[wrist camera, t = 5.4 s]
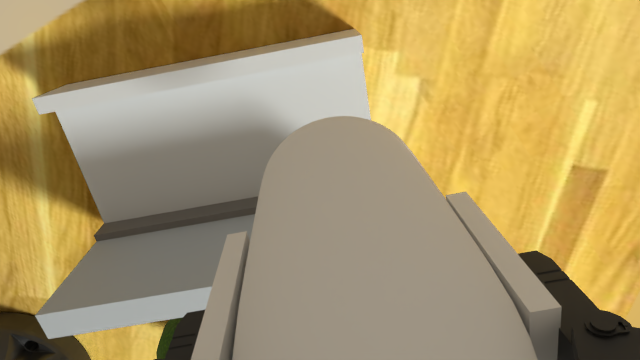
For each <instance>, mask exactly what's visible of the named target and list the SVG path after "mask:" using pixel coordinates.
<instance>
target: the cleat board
mask: <svg viewBox="0 0 640 360" xmlns="http://www.w3.org/2000/svg"><path fill="white" fill-rule="evenodd" d="M361 53H364V50H363V43H362V35H361V34H360V33H359V32H358V31H357V30H356V29H350V30H345V31H340V32H335V33H330V34H324V35H319V36H314V37H309V38H304V39H299V40H293V41H288V42H283V43H278V44H273V45H268V46H263V47H257V48H252V49H247V50H242V51H237V52H232V53H226V54H221V55H216V56H211V57H206V58H201V59H196V60H190V61H185V62H180V63H175V64H170V65H165V66H159V67H154V68H149V69H144V70H139V71H134V72H128V73H123V74H118V75H113V76H108V77H103V78H98V79H92V80H87V81H82V82H77V83H72V84H67V85H64V86H62V87H59V88H57V89H54V90H52V91H49V92H47V93H45V94H42V95H40V96H37V97H35V98H32V100H33V102H34V104H35V107H36V109H37V111H38V113H39V115H40V114H45V113H50V112H56V114H57V117H58V119H59V121H60V123H61V126H62V128H63V130H64V133H65V135H66V137H67V139H68V142H69V144H70V146H71V149H72V151H73V153H74V155H75V158H76V160H77V162H78V164H79V167H80V169H81V171H82V174H83V176H84V178H85V180H86V183H87V185H88V187H89V190H90V192H91V194H92V196H93V199H94V201H95V203H96V206H97V208H98V210H99V212H100V215H101V217H102V219H103V222H104V224H103V226H102V227H101V228H100V229H99V230H98V231H97V232H96V234H95V235H94V237H95V239H96V241H97V242H96V243H95V244H94V245H93V247H92V248H91V249H90V250H89V251H88V253H87V254H86V255H85V256H84V257H83V259H82V260H81V261H80V262H79V263H78V265H77V266H76V267H75V268H74V270H73V271H72V272H71V273H70V274H69V276H68V277H67V278H66V279H65V280H64V282H63V283H62V284H61V285H60V286H59V288H58V289H57V290H56V291H55V292H54V294H53V295H52V296H51V297H50V298H49V300H48V301H47V302H46V303H45V304H44V306H43V307H42V308H41V309H40V310H39V312H38V313H37V314H36V315H35V317H36V318H37V320H38V322H39V324H40V325H41V327H42V329H43V331H44V332H45V334H46V336H47V338H48V339H53V338H59V337H65V336H71V335H77V334H83V333H89V332H96V331H102V330H108V329H114V328H120V327H126V326H132V325H139V324H145V323H151V322H157V321H163V320H169V319H175V318H182V317H184V316H185V315H186V313H188V312H194V311H200V310H205V309H206V306H207V302H208V299H209V296H210V292H211V289H212V285H213V282H214V278H215V275H216V272H217V268H218V265H219V261H220V258H221V254H222V251H223V248H224V244H225V241H226V237H227V235H228V234H234V233H239V232H245V231H247V234H248V237H249V241H250V239H251V234H252V228H253V223H254V218H255V212H256V207H257V202H258V197H259V192H260V187H261V183H262V179H263V175H264V172H265V169H266V166H267V164H268V162H269V160H270V158H271V156H272V154H273V153H274V151H275V150H276V149H277V147H278V146H279V145H280V144H281V143H282V142H283V141H284V140H285V139H286V138H287V137H288V136H289V135H290V134H292V133H293V132H294V131H296V130H297V129H299V128H301V127H303V126H304V125H307V124H309V123H311V122H314V121H317V120H320V119H324V118H328V117H335V116H353V117H360V118H364V119H368V120H371V118H370V111H369V104H368V97H367V89H366V82H365V75H364V68H363V61H362V54H361Z"/></svg>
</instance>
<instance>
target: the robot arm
mask: <svg viewBox="0 0 640 360" xmlns="http://www.w3.org/2000/svg"><path fill="white" fill-rule="evenodd" d="M446 201H447V202H448V203H449V205H450V206H451V208H452V209H453V211H454V212H455V214H456V215H457V217H458V218H459V219H460V221H461V222H462V224H463V225H464V227H465V228H466V230H467V231H468V233H469V234H470V236H471V237H472V238H473V240H474V241H475V243H476V244H477V246H478V247H479V249H480V250H481V252H482V253H483V255H484V256H485V258H486V259H487V261H488V262H489V264H490V265H491V267H492V269H493V270H494V272H495V274H496V275H497V277H498V278H499V280H500V282H501V283H502V285H503V286H504V288H505V290H506V291H507V293H508V295H509V296H510V298H511V299H512V301H513V303H514V305H515V307H516V309H517V311H518V313H519V315H520V317H521V319H522V322H523V324H524V326H525V328H526V330H527V332H528V334H529V336H530V339H531V342H532V345H533V348H534V350H535V353H536V356H537V359H538V360H640V328H635V327H632V326H631V324H630V323H629V322H627V321H626V320H625V319H623V318H622V317H621V316H618V315H616V314H613V313H611V312H608V311H602V310H599V309H598V308H597V307H596V306H595V304H594V303H593V302H592V301H591V300H590V299H589V298H588V297H587V296H586V295H585V294H584V293H583V292H582V291H581V290H580V289H579V288H578V286H577V285H576V284H575V283H574V282H573V281H572V280H570V279H569V277H568V276H567V275H566V274H565V273H564V272H563V271H561V268H560V267H559V266H558V265H557V264H556V263H555V262H554V261H553V260H552V259H551V258H549V257H547V256H545V255H543V254H542V253H540V252H538V251H531V252H526V253H520V254H517V253H516V251H515V250H514V249H513V248H512V247H511V245H510V244H509V243H508V242H507V241H506V239H505V238H504V237H503V236H502V235H501V233H500V232H499V231H498V230H497V229H496V227H495V226H494V225H493V224H492V223H491V221H490V220H489V219H488V218H487V217H486V215H485V214H484V213H483V212H482V211H481V209H480V208H479V207H478V206H477V205H476V203H475V202H474V201H473V200H472V199H471V197H470V196H469V195H468V194H467V193H466V192H462V193H456V194H451V195H446ZM249 244H250V241H249V237H248V234H247V231H245V232H239V233H234V234H228V235H227V237H226V241H225V244H224V248H223V251H222V254H221V258H220V261H219V265H218V268H217V272H216V275H215V278H214V282H213V285H212V289H211V292H210V296H209V299H208V302H207V306H206V309H205V310H200V311H194V312H188V313H186V315H185V316H184V317H183V318H182V319H181V321H180V322H179V323H178V324H177V326H176V329H175V331H174V334H173V337H172V340H171V342H170V345H169V350H168V351H167V353H166V356H165V359H154V360H232V358H233V349H234V341H235V333H236V325H237V317H238V309H239V302H240V296H241V290H242V284H243V279H244V273H245V267H246V261H247V256H248V250H249ZM0 360H91V359H90V357H89V355H88V353H87V352H86V350H85V349H84V348H83V346H82V345H81V344H80V343H79V342H78V341H77V340H76V339H75V338H74V337H73V336H65V337H59V338H53V339H48V338H47V336H46V334H45V332H44V331H43V329H42V327H41V325H40V324H39V322H38V320H37V318H36V317H34V316H30V315H26V314H20V313H9V312H1V313H0Z"/></svg>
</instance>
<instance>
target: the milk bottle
mask: <svg viewBox="0 0 640 360" xmlns="http://www.w3.org/2000/svg"><path fill="white" fill-rule="evenodd" d="M232 360H538V359H537V356H536V353H535V350H534V348H533V345H532V342H531V339H530V336H529V334H528V332H527V330H526V328H525V326H524V324H523V322H522V319H521V317H520V315H519V313H518V311H517V309H516V307H515V305H514V303H513V301H512V299H511V298H510V296H509V295H508V293H507V291H506V290H505V288H504V286H503V285H502V283H501V282H500V280H499V278H498V277H497V275H496V274H495V272H494V270H493V269H492V267H491V265H490V264H489V262H488V261H487V259H486V258H485V256H484V255H483V253H482V252H481V250H480V249H479V247H478V246H477V244H476V243H475V241H474V240H473V238H472V237H471V236H470V234H469V233H468V231H467V230H466V228H465V227H464V225H463V224H462V222H461V221H460V219H459V218H458V217H457V215H456V214H455V212H454V211H453V209H452V208H451V206H450V205H449V203H448V202H447V201H446V199H445V198H444V196H443V195H442V193H441V192H440V191H439V189H438V188H437V186H436V185H435V184H434V182H433V181H432V179H431V178H430V176H429V175H428V174H427V172H426V171H425V169H424V168H423V167H422V165H421V164H420V162H419V161H418V160H417V158H416V157H415V156H414V154H413V153H412V151H411V150H410V149H409V148H408V147H407V146H406V144H405V143H404V142H403V141H402V140H401V139H400V138H399V137H398V136H397V135H396V134H395V133H393V132H392V131H391V130H389V129H388V128H386V127H384V126H383V125H381V124H378V123H376V122H374V121H371V120H368V119H364V118H360V117H353V116H335V117H328V118H324V119H320V120H317V121H314V122H311V123H309V124H307V125H304V126H303V127H301V128H299V129H297V130H296V131H294V132H293V133H292V134H290V135H289V136H288V137H287V138H286V139H285V140H284V141H283V142H282V143H281V144H280V145H279V146H278V147H277V149H276V150H275V151H274V153H273V154H272V156H271V158H270V160H269V162H268V164H267V166H266V169H265V172H264V175H263V179H262V183H261V187H260V192H259V197H258V202H257V207H256V212H255V218H254V223H253V228H252V234H251V239H250V244H249V250H248V256H247V261H246V267H245V273H244V279H243V284H242V290H241V296H240V302H239V309H238V317H237V325H236V333H235V341H234V349H233V358H232Z"/></svg>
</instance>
